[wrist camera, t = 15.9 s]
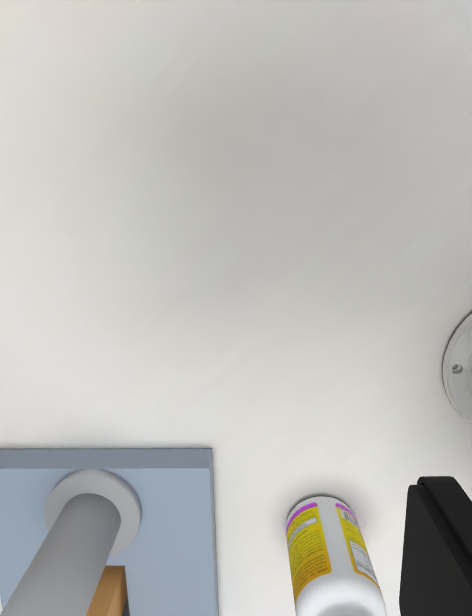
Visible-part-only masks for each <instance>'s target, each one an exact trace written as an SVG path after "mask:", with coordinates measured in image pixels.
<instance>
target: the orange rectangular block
mask: <svg viewBox="0 0 472 616" xmlns="http://www.w3.org/2000/svg"><path fill="white" fill-rule="evenodd" d="M127 596H128V592H127V582H126V572H125V566H105V568H104V570H103V573H102V575H101V578H100V581H99V583H98V586H97V588H96V591H95V594H94V596H93V599H92V601H91V604H90V606H89V609H88V612H87V614H86V616H122V613H123V609H124V606H125V603H126V599H127Z"/></svg>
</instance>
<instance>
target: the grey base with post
mask: <svg viewBox="0 0 472 616" xmlns="http://www.w3.org/2000/svg"><path fill="white" fill-rule="evenodd" d="M105 566H125V572H126V582H127V592H128V596H127V599H126V603H125V606H124V609H123V613H122V616H219V614H218V588H217V562H216V536H215V510H214V484H213V458H212V448H172V449H0V597H1V603H2V608H3V611H2V613H1V614H0V616H86V614H87V612H88V609H89V606H90V604H91V601H92V599H93V596H94V594H95V591H96V588H97V586H98V583H99V581H100V578H101V575H102V573H103V570H104V568H105Z"/></svg>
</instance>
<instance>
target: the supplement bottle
mask: <svg viewBox="0 0 472 616" xmlns="http://www.w3.org/2000/svg"><path fill="white" fill-rule="evenodd" d="M286 536H287V545H288V553H289V561H290V569H291V577H292V585H293V593H294V602H295V610H296V616H386V606H385V602H384V599H383V596H382V593H381V590H380V587H379V584H378V582H377V579H376V576H375V573H374V570H373V567H372V564H371V561H370V558H369V555H368V552H367V549H366V546H365V543H364V540H363V537H362V534H361V532H360V529H359V526H358V523H357V520H356V518H355V516H354V514H353V512H352V511H351V509H350V508H349V507H348V506H347V505H346V504H344V503H343V502H341V501H339V500H337V499H335V498H331V497H323V496H320V497H312V498H309V499H306V500H304V501H302V502H301V503H299V504H298V505H297V506H296V507H295V508H294V509H293V510H292V511H291V513H290V515H289V517H288V519H287V523H286Z"/></svg>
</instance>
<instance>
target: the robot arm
mask: <svg viewBox="0 0 472 616" xmlns="http://www.w3.org/2000/svg"><path fill="white" fill-rule="evenodd" d="M454 365H455V366H454ZM453 366H454V367H453ZM443 383H444V386H445V390H446V394H447V395H448V397H449V399H450V401H451V403H452V405H453V406H454V407H455V408H456V410H457V411H458V412H459V413H460V414H461V415H462V416H463V417H464V418H465V419H466V420H467V421H468V422H469V423H471V424H472V314H471V315H469V316H468V317H467V318H466V319H465V320H464V321H463V323H462V324H461V325H460V326H459V327H458V328H457V330H456V332H455V333H454V335H453V337H452V338H451V340H450V342H449V344H448V347H447V350H446V353H445V356H444V362H443ZM399 605H400V613H401V616H472V501H471V500H470V499H469V497H468V496H467V494H466V493H465V492H464V490H463V489H462V488H461V486H460V485H459V483H458V482H457V481H456V480H455V479H454V478H453V477H451V476H430V477H420V478H419V479H418V481H417V485H410V486H409V488H408V495H407V507H406V520H405V532H404V545H403V558H402V570H401V583H400V595H399Z"/></svg>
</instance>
